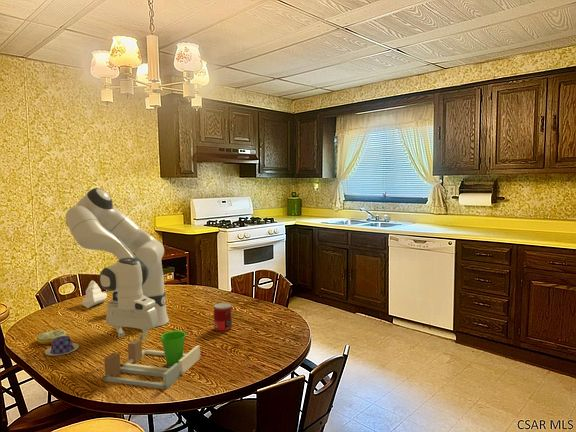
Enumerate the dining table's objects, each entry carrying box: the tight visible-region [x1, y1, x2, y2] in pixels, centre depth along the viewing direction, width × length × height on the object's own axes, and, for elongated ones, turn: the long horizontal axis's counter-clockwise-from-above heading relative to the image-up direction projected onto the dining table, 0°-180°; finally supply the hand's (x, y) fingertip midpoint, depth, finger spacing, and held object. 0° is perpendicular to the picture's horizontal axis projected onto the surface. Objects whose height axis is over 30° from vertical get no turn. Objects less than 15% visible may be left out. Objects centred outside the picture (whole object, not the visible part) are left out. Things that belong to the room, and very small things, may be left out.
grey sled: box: [103, 352, 181, 390], centre depth 135 cm, size 25×8×7 cm, turn 75°
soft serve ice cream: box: [81, 280, 108, 309], centre depth 219 cm, size 12×15×14 cm
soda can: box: [112, 290, 118, 301], centre depth 204 cm, size 7×7×12 cm
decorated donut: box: [36, 329, 67, 346], centre depth 169 cm, size 10×11×4 cm
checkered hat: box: [44, 335, 80, 356], centre depth 159 cm, size 12×12×5 cm
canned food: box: [213, 302, 233, 332], centre depth 180 cm, size 8×8×11 cm
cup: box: [160, 330, 187, 368], centre depth 145 cm, size 9×9×11 cm
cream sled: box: [121, 338, 201, 376], centre depth 147 cm, size 25×13×7 cm, turn 75°
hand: (132, 337), depth 149 cm, fingers open, 8 cm apart
